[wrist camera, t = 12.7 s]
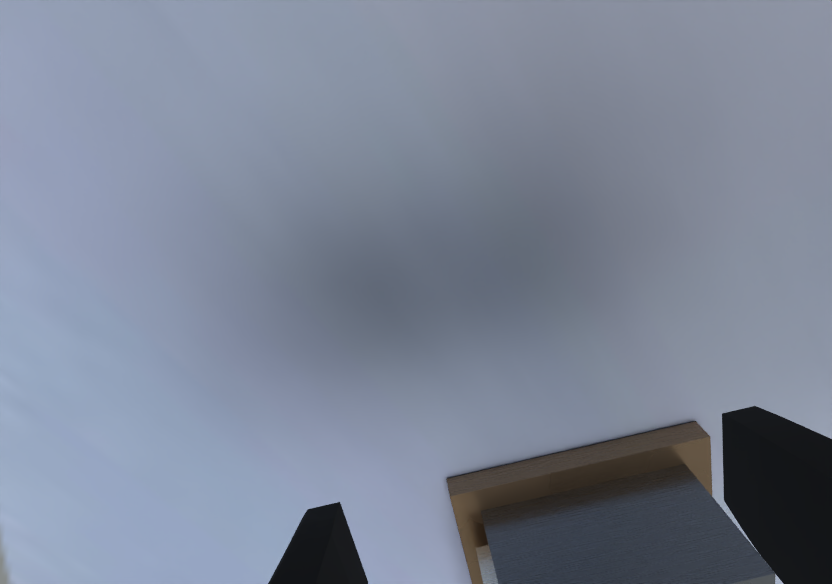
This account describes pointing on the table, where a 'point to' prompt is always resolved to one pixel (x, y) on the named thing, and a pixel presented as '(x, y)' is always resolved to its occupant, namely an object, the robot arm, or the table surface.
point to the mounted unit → (605, 517)
